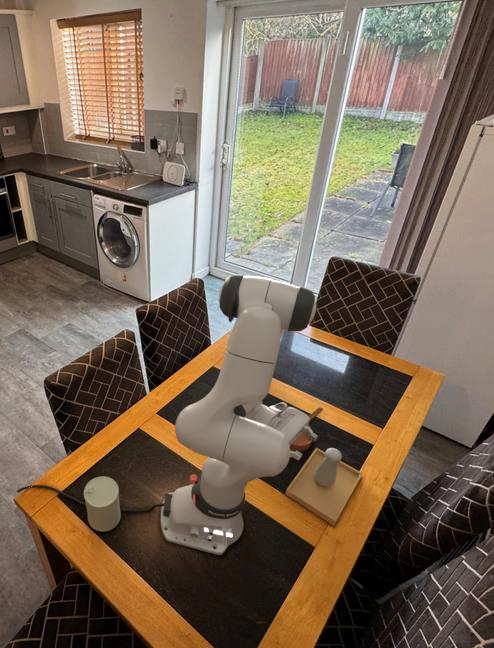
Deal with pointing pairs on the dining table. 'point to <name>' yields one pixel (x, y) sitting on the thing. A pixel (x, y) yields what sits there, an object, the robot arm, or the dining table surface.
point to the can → (102, 503)
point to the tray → (323, 488)
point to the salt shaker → (328, 468)
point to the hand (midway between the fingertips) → (308, 448)
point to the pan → (301, 442)
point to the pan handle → (315, 413)
